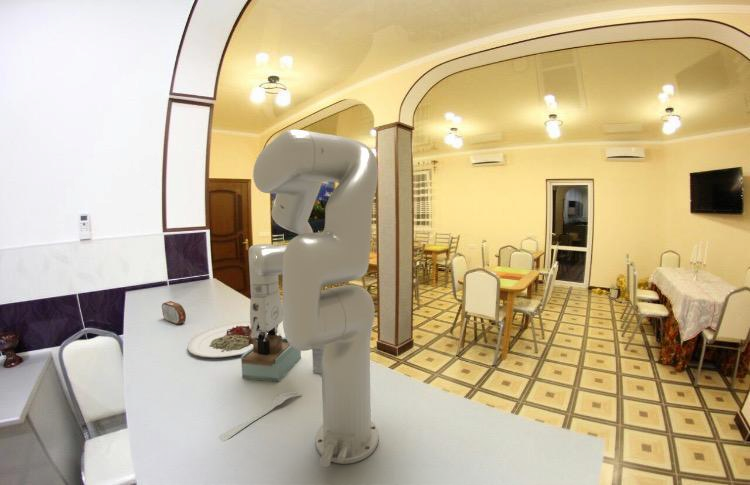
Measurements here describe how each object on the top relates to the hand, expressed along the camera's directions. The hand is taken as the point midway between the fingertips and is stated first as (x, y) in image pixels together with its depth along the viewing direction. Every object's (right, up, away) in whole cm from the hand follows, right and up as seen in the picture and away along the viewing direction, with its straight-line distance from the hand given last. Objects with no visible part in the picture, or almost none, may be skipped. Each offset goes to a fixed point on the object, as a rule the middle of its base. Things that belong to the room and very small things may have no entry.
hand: (267, 350), depth 90 cm
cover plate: (0, -1, 0) cm, 1 cm away
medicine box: (+16, -6, +3) cm, 17 cm away
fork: (+6, -9, -18) cm, 21 cm away
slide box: (+1, -6, +3) cm, 7 cm away
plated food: (-19, -5, +22) cm, 29 cm away
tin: (-54, -3, +42) cm, 68 cm away
